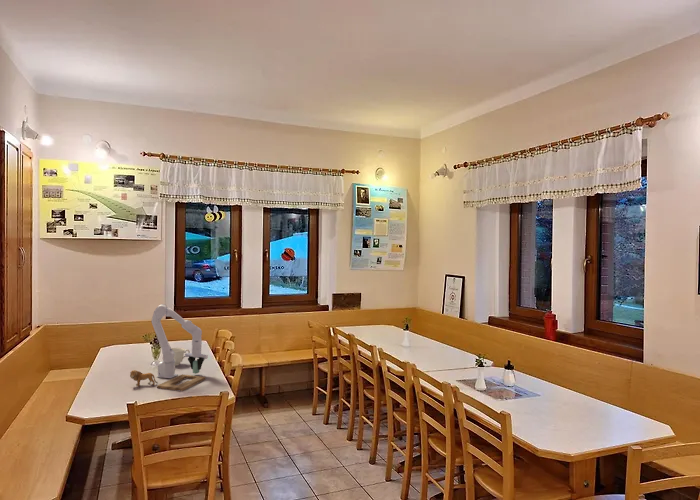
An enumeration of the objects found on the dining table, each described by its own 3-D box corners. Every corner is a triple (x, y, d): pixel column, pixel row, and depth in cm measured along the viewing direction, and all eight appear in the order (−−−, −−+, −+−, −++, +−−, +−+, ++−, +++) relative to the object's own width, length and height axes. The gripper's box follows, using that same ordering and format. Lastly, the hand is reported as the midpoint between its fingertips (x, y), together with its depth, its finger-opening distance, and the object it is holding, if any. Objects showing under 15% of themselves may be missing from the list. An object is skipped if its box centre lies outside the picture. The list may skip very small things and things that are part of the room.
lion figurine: (130, 387, 275) (130, 371, 275) (129, 385, 280) (129, 369, 279) (158, 384, 281) (158, 369, 281) (157, 382, 286) (157, 366, 286)
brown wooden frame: (157, 388, 275) (157, 385, 275) (181, 376, 298) (182, 374, 298) (182, 391, 271) (182, 388, 271) (205, 379, 294) (205, 376, 294)
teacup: (189, 366, 323) (189, 351, 322) (165, 367, 318) (165, 352, 318) (189, 361, 334) (189, 347, 334) (166, 362, 330) (166, 348, 329)
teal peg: (191, 372, 301) (191, 361, 301) (194, 371, 305) (195, 360, 305) (197, 373, 300) (197, 362, 300) (200, 371, 304) (200, 360, 304)
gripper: (210, 347, 304) (210, 368, 304) (189, 345, 308) (189, 366, 308) (204, 349, 297) (203, 371, 298) (183, 347, 301) (182, 369, 301)
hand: (196, 369), depth 302 cm, fingers closed on teal peg, 4 cm apart
